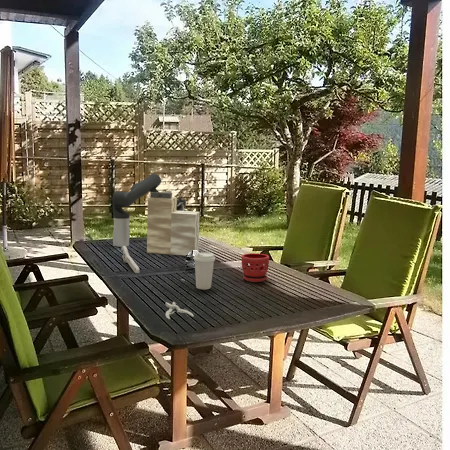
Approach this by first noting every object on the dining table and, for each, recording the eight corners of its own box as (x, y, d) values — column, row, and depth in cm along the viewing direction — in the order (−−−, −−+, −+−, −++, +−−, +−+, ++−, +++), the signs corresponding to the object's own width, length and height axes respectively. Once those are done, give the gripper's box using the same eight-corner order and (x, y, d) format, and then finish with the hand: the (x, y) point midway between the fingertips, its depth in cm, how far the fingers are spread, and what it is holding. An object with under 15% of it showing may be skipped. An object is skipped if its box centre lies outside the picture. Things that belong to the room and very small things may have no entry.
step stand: (153, 248, 283) (153, 195, 278) (198, 251, 279) (200, 198, 274) (146, 252, 271) (147, 197, 266) (194, 256, 267) (195, 200, 262)
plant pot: (270, 277, 228) (271, 253, 226) (265, 284, 215) (266, 259, 213) (244, 274, 231) (245, 251, 229) (237, 281, 219) (238, 256, 217)
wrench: (135, 279, 226) (120, 258, 252) (139, 279, 227) (124, 258, 253) (136, 264, 224) (121, 244, 250) (140, 263, 225) (124, 244, 251)
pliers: (168, 316, 167) (157, 303, 180) (168, 320, 167) (157, 307, 181) (194, 313, 171) (181, 300, 184) (194, 317, 171) (181, 304, 185)
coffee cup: (190, 285, 210) (191, 252, 208) (210, 283, 214) (211, 251, 211) (196, 291, 202) (197, 257, 199) (217, 289, 205) (218, 256, 203)
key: (160, 194, 287) (160, 189, 286) (179, 195, 285) (179, 190, 285) (150, 197, 267) (150, 192, 267) (170, 198, 265) (170, 193, 265)
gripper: (168, 201, 312) (162, 191, 296) (188, 203, 310) (184, 193, 295) (166, 212, 309) (160, 202, 294) (187, 213, 307) (182, 203, 292)
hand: (172, 197), depth 294 cm, fingers open, 8 cm apart
